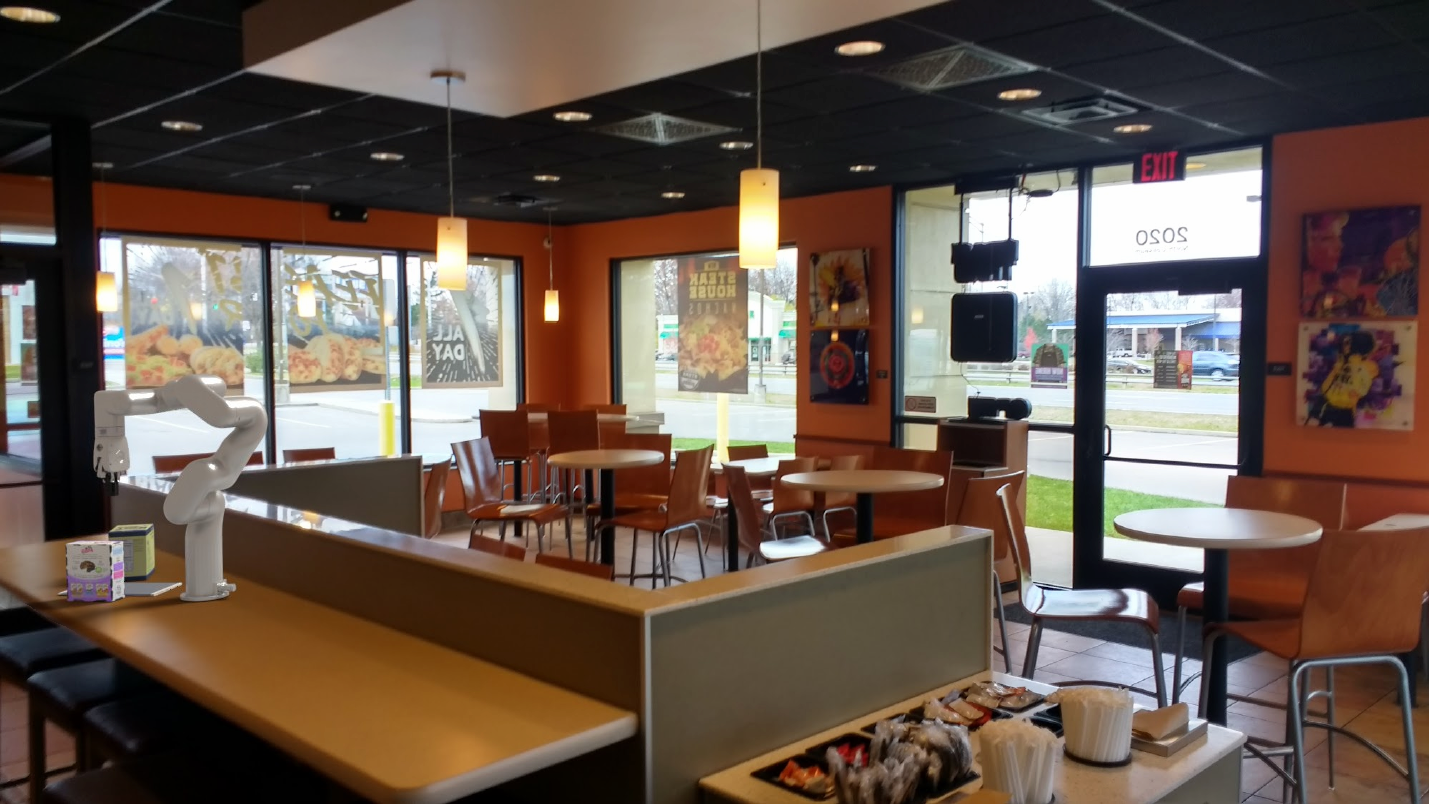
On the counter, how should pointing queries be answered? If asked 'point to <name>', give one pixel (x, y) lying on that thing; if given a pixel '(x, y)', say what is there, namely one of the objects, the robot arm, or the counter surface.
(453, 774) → the counter surface
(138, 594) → the gray flat board
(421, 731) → the counter surface
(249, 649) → the counter surface
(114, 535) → the protein box
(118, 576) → the candy box
